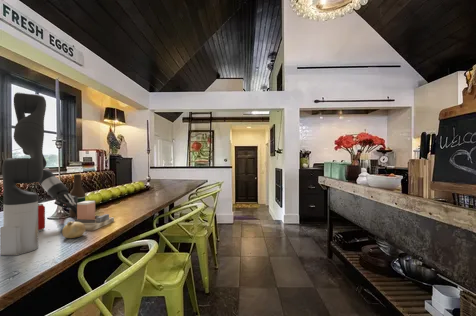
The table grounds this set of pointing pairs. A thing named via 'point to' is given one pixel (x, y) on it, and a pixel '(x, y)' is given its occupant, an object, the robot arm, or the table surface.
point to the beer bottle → (77, 192)
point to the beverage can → (41, 217)
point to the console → (96, 222)
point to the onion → (73, 229)
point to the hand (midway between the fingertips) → (78, 211)
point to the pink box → (86, 210)
